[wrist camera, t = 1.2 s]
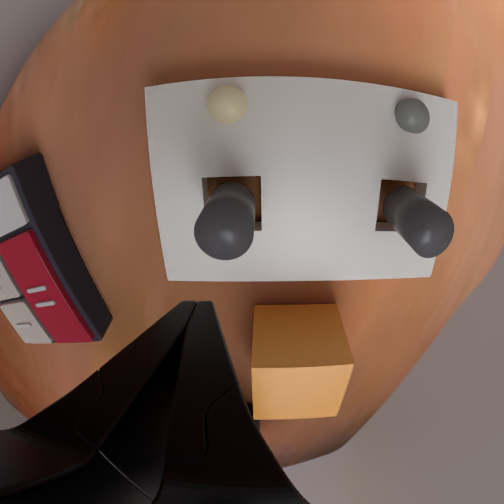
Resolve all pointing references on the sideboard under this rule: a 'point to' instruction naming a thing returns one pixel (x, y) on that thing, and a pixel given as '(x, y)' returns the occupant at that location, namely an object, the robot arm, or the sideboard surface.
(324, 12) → the sideboard surface
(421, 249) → the breaker
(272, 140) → the panel
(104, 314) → the calculator
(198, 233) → the lever
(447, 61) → the sideboard surface
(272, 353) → the light orange cube
